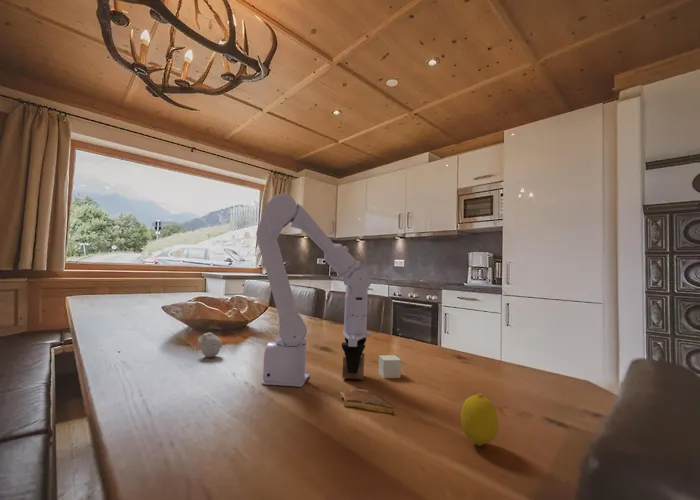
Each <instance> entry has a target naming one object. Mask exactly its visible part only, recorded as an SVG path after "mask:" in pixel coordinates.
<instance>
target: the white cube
mask: <svg viewBox="0 0 700 500" xmlns="http://www.w3.org/2000/svg"><path fill="white" fill-rule="evenodd" d="M401 361H402V360H401V358H399V357H398V356H397V355H396V354H395V355H394V354H391V355H390V354H389V355H387V354H385V355H383V354H382V355H381V354H380V355H379V356H378V374H379V375H380V376H381V377H382V378H383V379H398V378H399V379H400V378H401V370H402V369H401V368H402V362H401Z"/></svg>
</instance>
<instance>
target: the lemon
mask: <svg viewBox="0 0 700 500" xmlns="http://www.w3.org/2000/svg"><path fill="white" fill-rule="evenodd" d="M497 412H498V411H497V409H496V406H495V405H494V404H493V402H492V401H491V400H490V399H488V397H486V396H484V395H483V394H482V393H477V394H474V395H471V396H469V397H467V398H466V399H465V401H464V402H463V404H462V406H461V411H460V423H461V427H462V430H463V432H464V434H465V435H466V436H467V438H468V439H469V440H470V441H472V442H474V443H475V445H476V446H478V447H481V446H483V445H485V444H488V443H491V442H492V441H493V440H495V438H496V436H497V433H498V429H499V418H498V413H497Z"/></svg>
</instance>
